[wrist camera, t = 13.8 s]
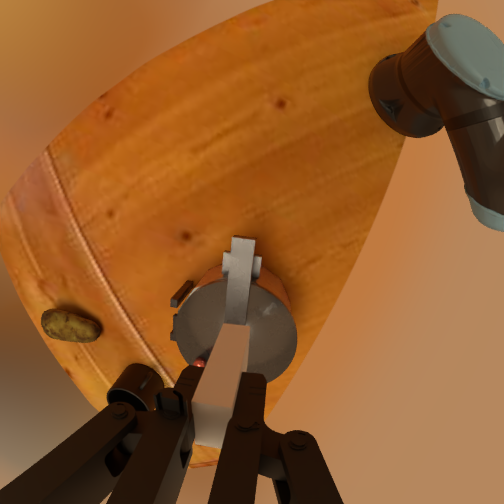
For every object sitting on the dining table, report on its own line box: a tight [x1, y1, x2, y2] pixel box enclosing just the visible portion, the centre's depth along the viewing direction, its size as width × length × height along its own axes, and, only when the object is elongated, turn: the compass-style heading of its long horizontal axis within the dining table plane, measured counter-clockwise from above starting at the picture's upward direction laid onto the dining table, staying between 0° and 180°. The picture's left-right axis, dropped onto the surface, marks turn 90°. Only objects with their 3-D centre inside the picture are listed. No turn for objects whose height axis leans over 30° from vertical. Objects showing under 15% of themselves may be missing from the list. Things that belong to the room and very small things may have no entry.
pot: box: [170, 250, 291, 340], centre depth 44 cm, size 17×22×9 cm
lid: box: [173, 235, 297, 383], centre depth 36 cm, size 17×22×3 cm
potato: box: [41, 309, 101, 343], centre depth 48 cm, size 8×13×8 cm, turn 59°
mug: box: [107, 364, 164, 411], centre depth 49 cm, size 9×12×9 cm
